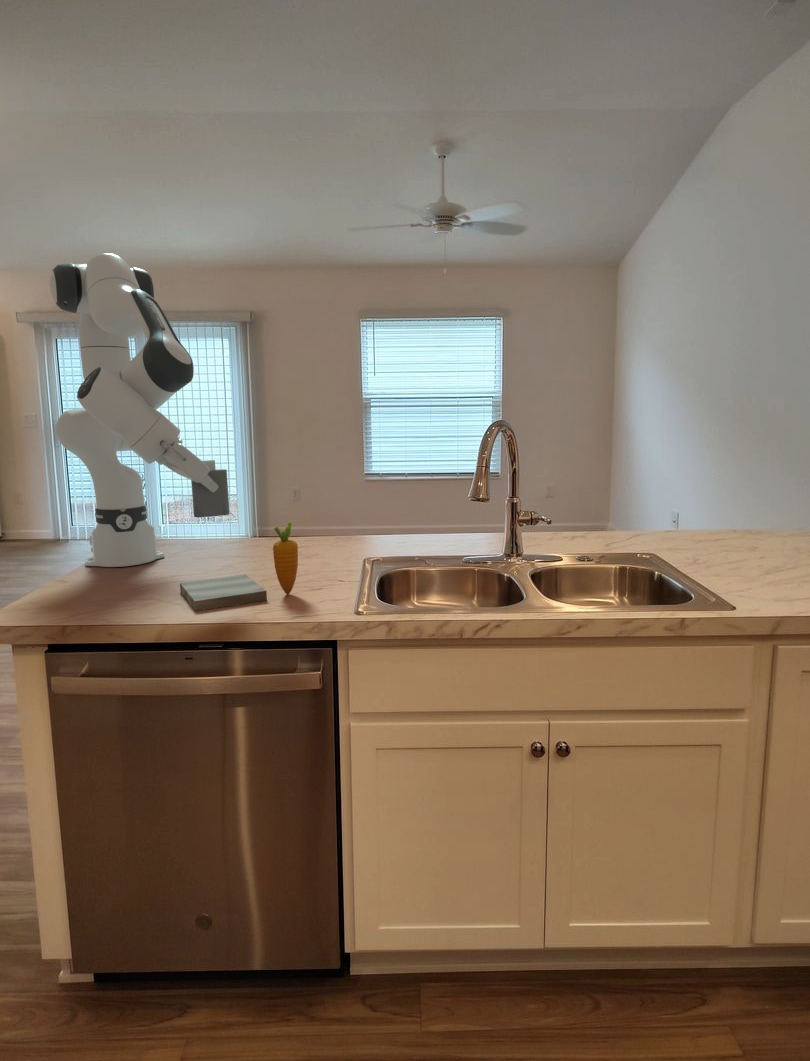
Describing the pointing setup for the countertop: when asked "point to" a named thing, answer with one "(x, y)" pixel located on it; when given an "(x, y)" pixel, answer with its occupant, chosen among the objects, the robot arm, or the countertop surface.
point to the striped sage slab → (222, 592)
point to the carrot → (285, 559)
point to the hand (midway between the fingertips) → (213, 488)
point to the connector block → (211, 494)
